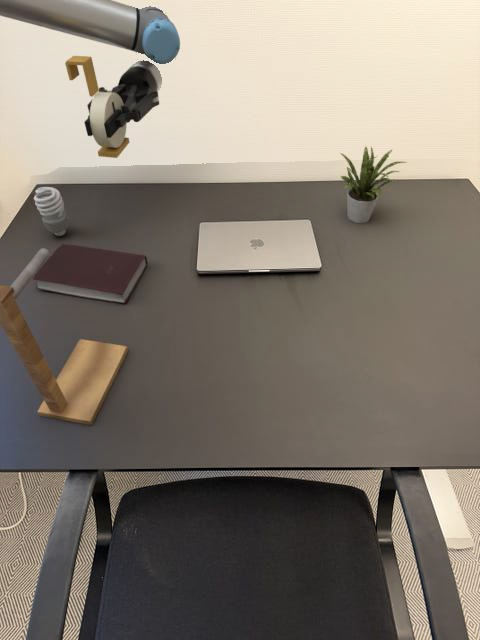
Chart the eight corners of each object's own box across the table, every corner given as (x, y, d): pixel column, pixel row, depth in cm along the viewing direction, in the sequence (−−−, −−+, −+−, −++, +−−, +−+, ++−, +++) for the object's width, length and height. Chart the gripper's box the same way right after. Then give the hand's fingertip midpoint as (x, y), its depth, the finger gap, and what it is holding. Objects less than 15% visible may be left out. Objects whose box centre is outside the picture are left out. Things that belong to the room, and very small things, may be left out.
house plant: (406, 228, 107) (425, 162, 95) (353, 243, 104) (367, 176, 92) (372, 197, 116) (385, 133, 104) (322, 209, 113) (331, 144, 101)
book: (66, 252, 103) (62, 240, 101) (148, 264, 100) (146, 252, 97) (36, 290, 95) (31, 278, 92) (125, 305, 91) (122, 293, 89)
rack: (39, 415, 75) (-33, 297, 56) (81, 343, 85) (33, 223, 66) (92, 425, 73) (36, 308, 54) (128, 350, 84) (92, 229, 65)
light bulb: (77, 229, 109) (62, 182, 100) (67, 243, 105) (50, 197, 97) (55, 227, 110) (38, 180, 101) (44, 241, 106) (25, 194, 97)
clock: (80, 158, 95) (55, 67, 82) (100, 136, 101) (80, 49, 89) (114, 161, 93) (93, 70, 81) (132, 139, 100) (115, 51, 88)
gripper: (177, 103, 106) (141, 152, 90) (110, 98, 108) (63, 145, 93) (173, 67, 100) (134, 113, 85) (102, 63, 103) (52, 106, 87)
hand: (97, 129), depth 89 cm, fingers closed on clock, 3 cm apart
